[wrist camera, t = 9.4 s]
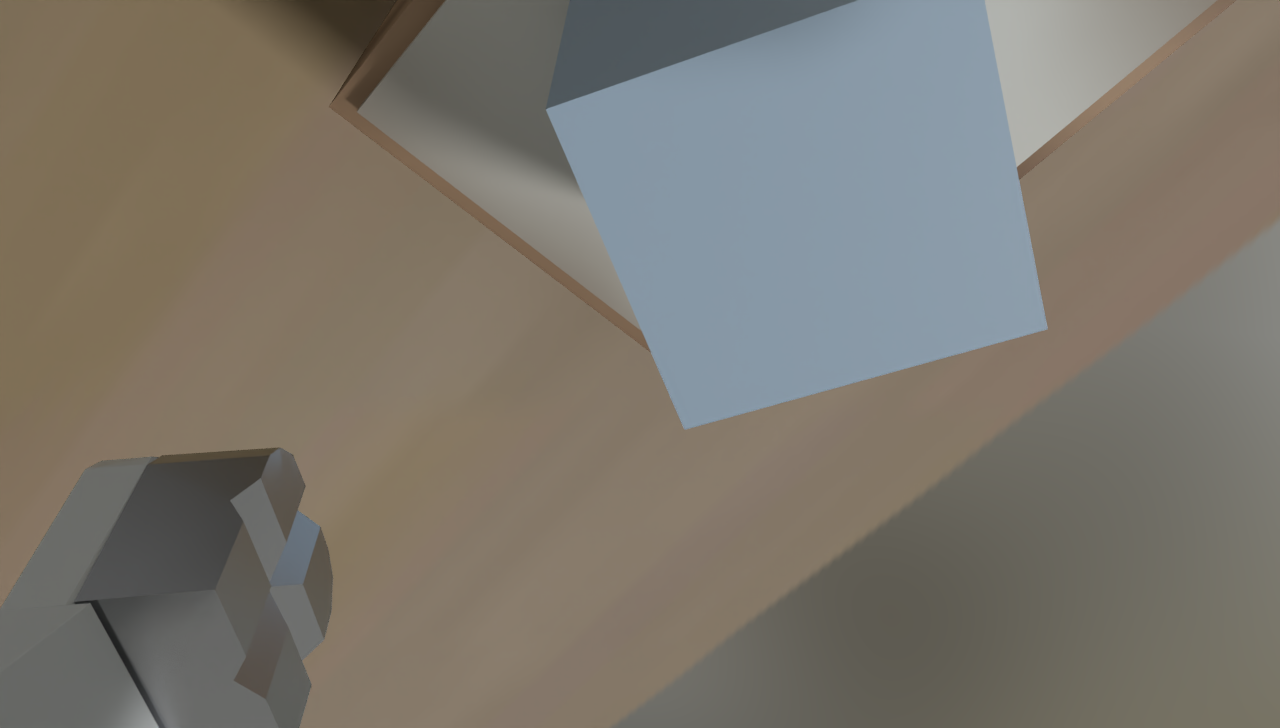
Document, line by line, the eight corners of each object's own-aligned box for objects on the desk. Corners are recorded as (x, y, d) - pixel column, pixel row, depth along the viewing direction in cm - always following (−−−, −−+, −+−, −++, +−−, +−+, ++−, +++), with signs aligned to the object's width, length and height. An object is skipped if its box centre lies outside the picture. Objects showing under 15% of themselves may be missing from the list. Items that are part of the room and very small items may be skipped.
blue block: (679, 227, 21) (684, 429, 16) (577, -34, 18) (545, 109, 13) (950, 142, 20) (1047, 329, 15) (884, -150, 17) (976, -41, 12)
